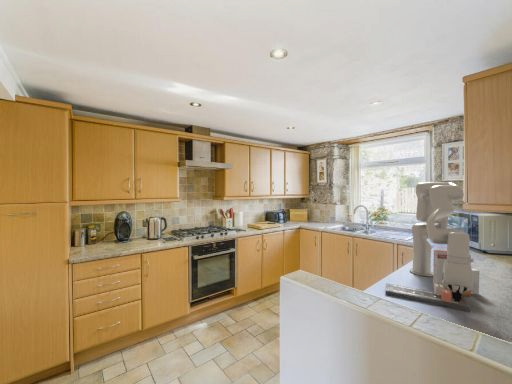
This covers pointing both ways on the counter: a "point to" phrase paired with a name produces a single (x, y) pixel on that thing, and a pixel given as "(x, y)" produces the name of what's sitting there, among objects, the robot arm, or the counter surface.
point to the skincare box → (475, 282)
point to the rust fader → (446, 295)
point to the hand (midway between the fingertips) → (456, 300)
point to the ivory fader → (438, 288)
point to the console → (425, 297)
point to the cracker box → (438, 270)
